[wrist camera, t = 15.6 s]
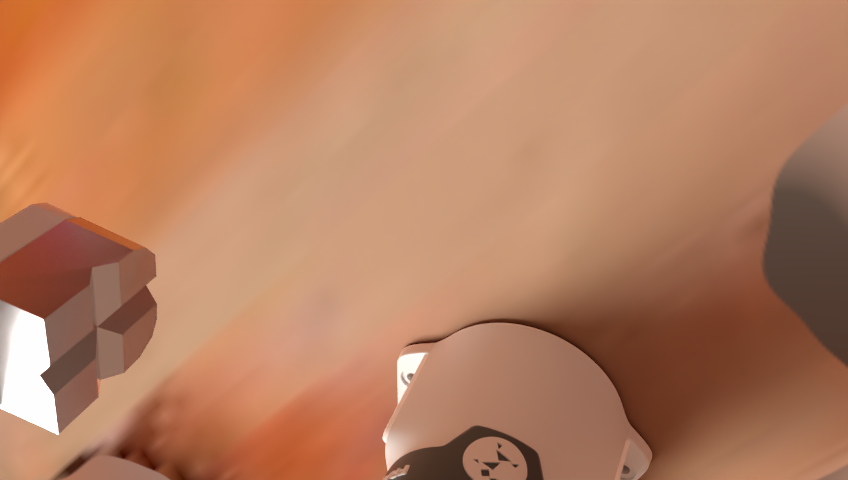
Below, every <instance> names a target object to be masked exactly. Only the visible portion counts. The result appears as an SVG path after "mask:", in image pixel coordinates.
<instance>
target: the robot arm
mask: <svg viewBox="0 0 848 480" xmlns="http://www.w3.org/2000/svg"><path fill="white" fill-rule="evenodd" d="M155 277H156V262H155V254H154V253H152V252H151V251H150V250H148V249H147V248H145V247H143V246H141V245H139V244H137V243H135V242H132V241H130V240H128V239H126V238H124V237H122V236H119V235H117V234H115V233H113V232H111V231H109V230H106V229H104V228H102V227H100V226H98V225H96V224H93V223H91V222H89V221H87V220H85V219H83V218H80V217H76V216H74V215H72V214H70V213H68V212H66V211H63V210H61V209H59V208H57V207H55V206H53V205H51V204H48V203H40V204H32V205H30V206H28V207H27V208H25V209H23V210H22V211H20V212H18V213H17V214H15V215H13V216H12V217H10V218H8V219H7V220H5V221H3V222H2V223H0V408H2V409H4V410H6V411H8V412H11V413H13V414H15V415H17V416H19V417H21V418H24V419H26V420H28V421H30V422H32V423H34V424H37V425H39V426H41V427H43V428H45V429H47V430H50V431H52V432H54V433H56V434H59V433H60V432H61V431H63V430H64V429H65V428H66V427H67V426H68V425H69V424H70V423H71V422H72V421H73V420H74V419H75V418H76V417H78V416H79V415H80V414H81V413H82V412H83V411H84V410H85V409H86V408H87V407H88V406H89V405H90V404H91V403H92V402H94V401H95V400H96V399H97V398H98V396H99V388H100V380H101V379H105V378H108V377H111V376H115V375H118V374H122V373H124V372H125V371H126V370H127V369H128V368H129V367H130V366H131V365H132V364H133V363H134V362H135V361H136V360H137V359H138V358H139V357H140V356H141V354H142V353H143V351H144V349H145V348H146V346H147V344H148V343H149V341H150V339H151V338H152V335H153V331H154V328H155V324H156V320H157V303H156V302H155V300H154V298H153V297H152V295H151V293H150V291H149V290H148V288H147V286H146V285H147V284H148V283H149V282H150V281H151V280H152V279H154V278H155ZM412 373H413V374H414V375H413V374H412ZM397 385H398V406H397V408H396V409H395V411H394V413H393V415H392V417H391V419H390V421H389V423H388V425H387V427H386V429H385V431H384V434H383V440H384V442H385V443H386V447H385V456H386V463H387V470H388V472H387V474H386V476H385V477H384V479H383V480H638V479H639V478H640V477H641V476H642V475H643V474H644V473H645V472H646V471H647V469H648V468H649V465H650V462H651V459H652V452H651V450H650V448H649V446H648V445H647V443H646V442H645V441H644V440H643V438H642V437H641V436H640V435H639V434H638V433H637V432H636V431H635V430H634V428H633V427H632V426H631V425H630V423H629V422H628V420H627V417H626V415H625V412H624V409H623V405H622V402H621V400H620V397H619V395H618V393H617V391H616V389H615V387H614V386H613V384H612V382H611V381H610V379H609V378H608V377H607V375H606V374H605V373H604V372H603V370H602V369H601V368H600V367H599V366H598V365H597V364H596V363H595V362H594V361H593V360H592V359H591V358H590V357H588V356H587V355H586V354H585V353H583V352H582V351H581V350H579V349H578V348H576V347H575V346H573V345H572V344H570V343H568V342H567V341H565V340H563V339H561V338H559V337H557V336H555V335H553V334H550V333H548V332H545V331H543V330H540V329H536V328H533V327H529V326H525V325H520V324H512V323H485V324H479V325H474V326H471V327H467V328H465V329H462V330H460V331H458V332H456V333H454V334H452V335H451V336H449V337H447V338H445V339H443V340H441V341H439V342H436V343H424V344H414V345H409V346H407V347H405V348H404V349H403V350H402V351H401V354H400V356H399V358H398V361H397ZM623 465H626V466H627V467H626V466H623Z"/></svg>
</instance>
